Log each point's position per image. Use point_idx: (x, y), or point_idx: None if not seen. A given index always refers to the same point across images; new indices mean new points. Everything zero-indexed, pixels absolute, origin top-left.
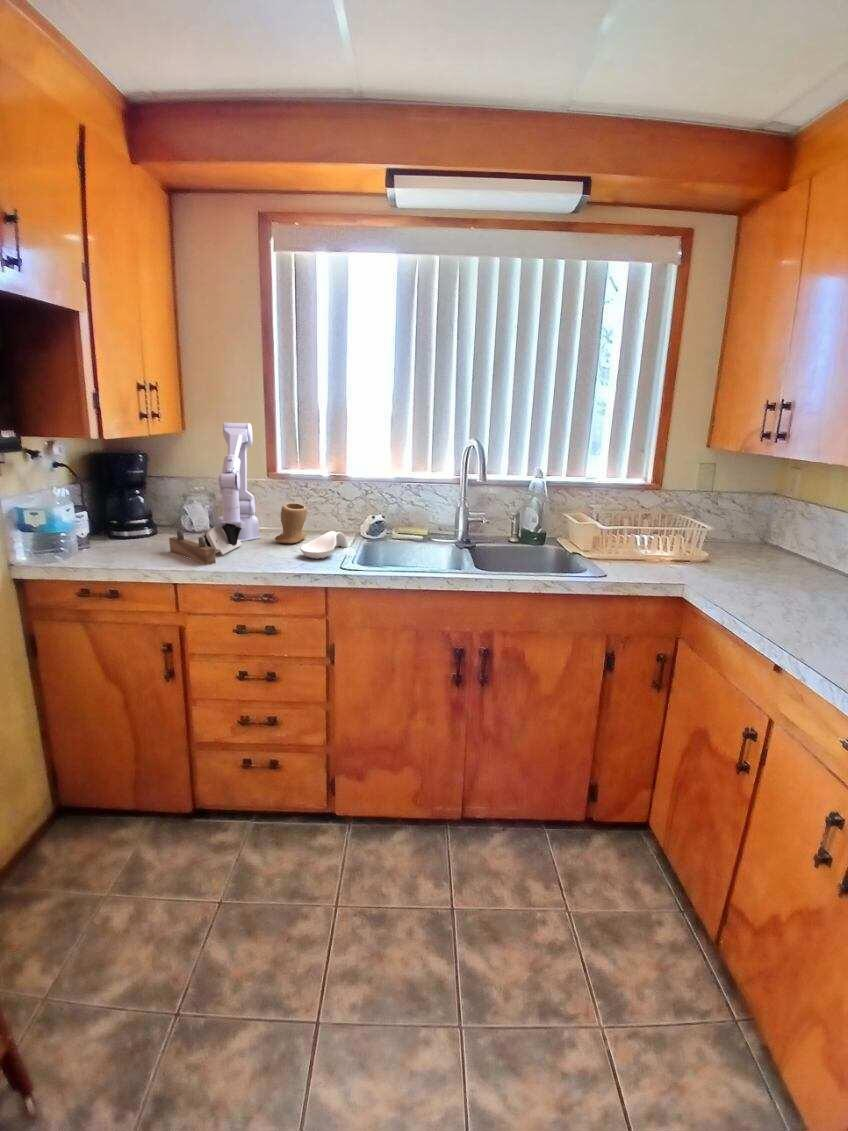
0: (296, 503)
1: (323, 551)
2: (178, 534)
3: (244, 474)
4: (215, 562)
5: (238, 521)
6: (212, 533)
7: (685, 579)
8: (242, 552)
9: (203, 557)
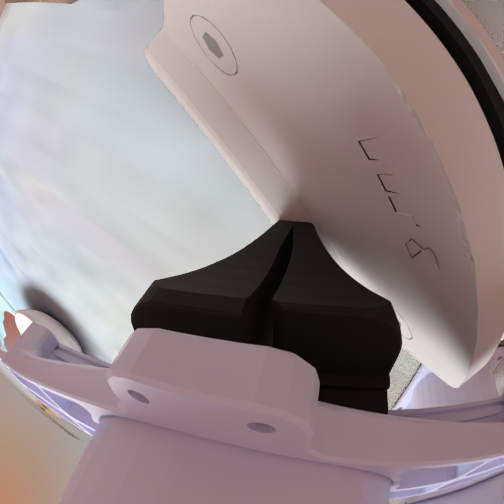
0: None
1: (18, 328)
2: None
3: None
4: (68, 3)
5: (63, 411)
6: None
7: (7, 374)
8: (201, 223)
9: None
